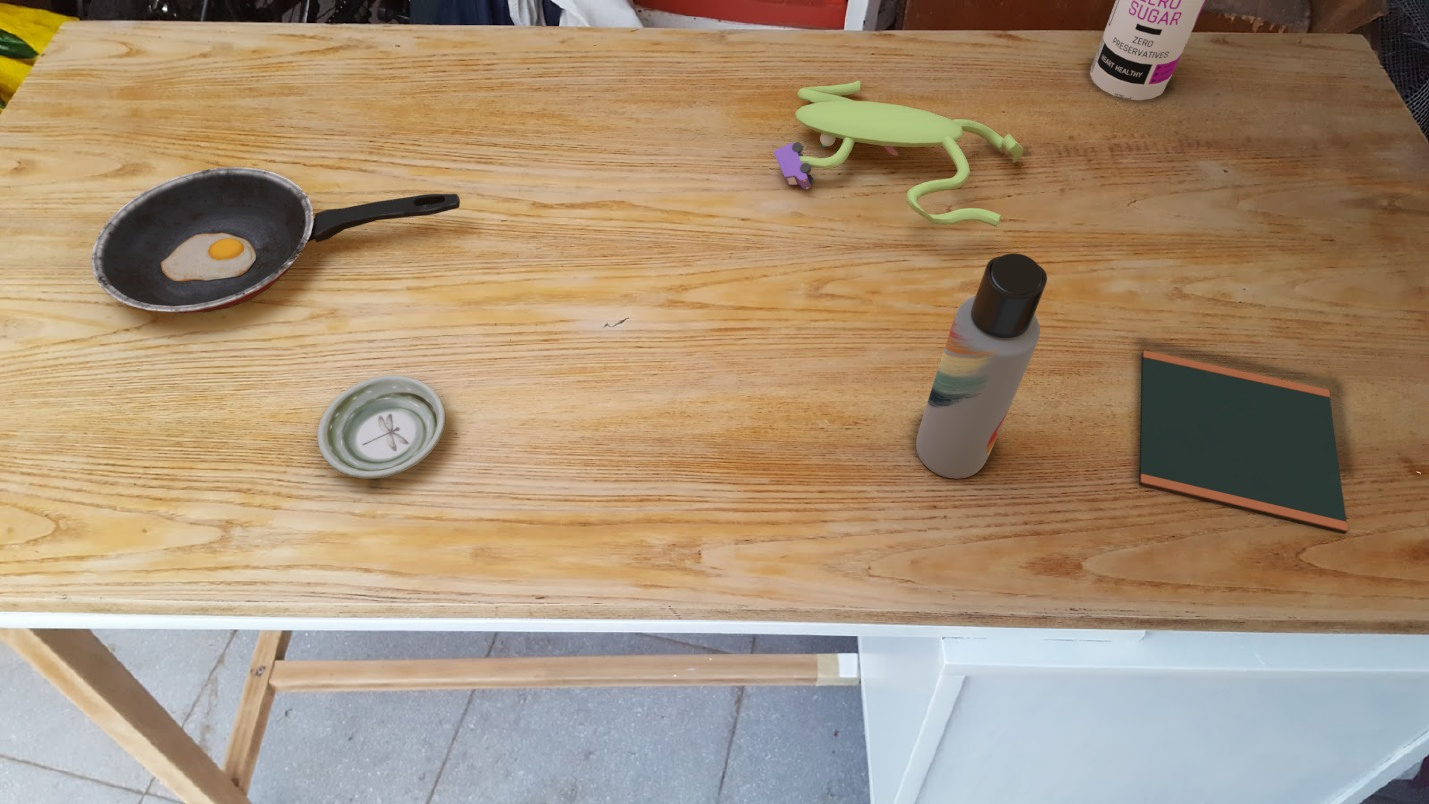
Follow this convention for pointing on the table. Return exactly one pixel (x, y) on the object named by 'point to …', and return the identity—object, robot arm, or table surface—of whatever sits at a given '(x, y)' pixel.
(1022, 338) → the lotion bottle
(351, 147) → the table surface
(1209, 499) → the mat
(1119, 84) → the supplement can
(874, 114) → the figurine
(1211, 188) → the table surface
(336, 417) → the saucer
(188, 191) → the frying pan
